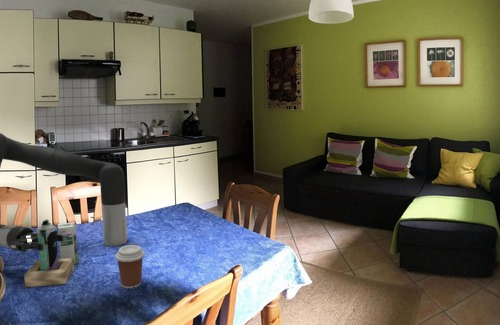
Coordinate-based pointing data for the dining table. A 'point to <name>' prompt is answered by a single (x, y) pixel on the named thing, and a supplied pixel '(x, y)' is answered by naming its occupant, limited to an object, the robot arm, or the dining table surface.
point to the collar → (49, 274)
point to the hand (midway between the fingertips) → (52, 242)
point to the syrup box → (68, 241)
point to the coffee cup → (130, 265)
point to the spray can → (48, 246)
